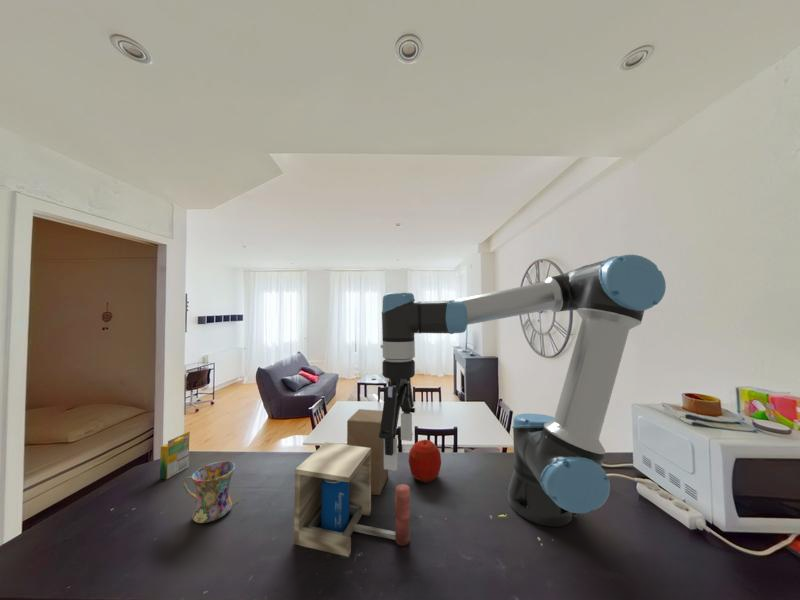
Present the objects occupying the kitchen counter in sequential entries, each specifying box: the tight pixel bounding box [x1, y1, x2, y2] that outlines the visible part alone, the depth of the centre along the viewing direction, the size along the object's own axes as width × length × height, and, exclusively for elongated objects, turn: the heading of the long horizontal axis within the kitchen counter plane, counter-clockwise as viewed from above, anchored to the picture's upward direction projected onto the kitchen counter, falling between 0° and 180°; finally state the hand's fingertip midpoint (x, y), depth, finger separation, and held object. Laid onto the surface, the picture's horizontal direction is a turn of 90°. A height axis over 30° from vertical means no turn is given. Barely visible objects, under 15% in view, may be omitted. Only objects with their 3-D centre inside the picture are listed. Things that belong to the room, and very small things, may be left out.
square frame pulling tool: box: [306, 483, 411, 546], centre depth 65 cm, size 23×10×11 cm, turn 76°
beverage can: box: [320, 478, 350, 533], centre depth 66 cm, size 6×6×12 cm
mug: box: [182, 460, 236, 524], centre depth 71 cm, size 12×9×11 cm
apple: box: [408, 439, 442, 483], centre depth 86 cm, size 10×10×12 cm
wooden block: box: [346, 408, 389, 496], centre depth 83 cm, size 10×10×20 cm
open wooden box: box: [293, 442, 372, 558], centre depth 66 cm, size 13×13×16 cm
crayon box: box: [159, 431, 191, 480], centre depth 89 cm, size 7×3×12 cm, turn 169°
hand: (399, 453), depth 63 cm, fingers open, 13 cm apart
